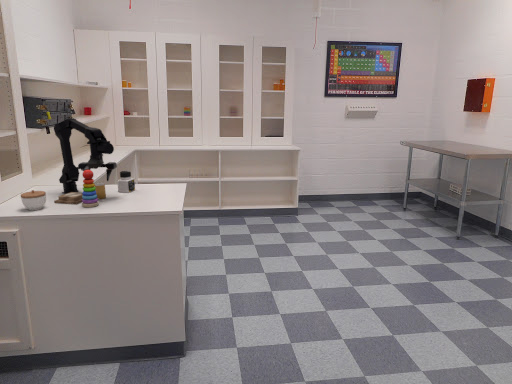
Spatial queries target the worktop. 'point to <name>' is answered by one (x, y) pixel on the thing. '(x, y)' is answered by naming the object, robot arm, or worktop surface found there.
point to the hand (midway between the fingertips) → (99, 181)
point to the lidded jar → (34, 199)
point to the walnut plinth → (70, 198)
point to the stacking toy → (89, 190)
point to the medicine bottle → (126, 182)
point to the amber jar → (100, 190)
